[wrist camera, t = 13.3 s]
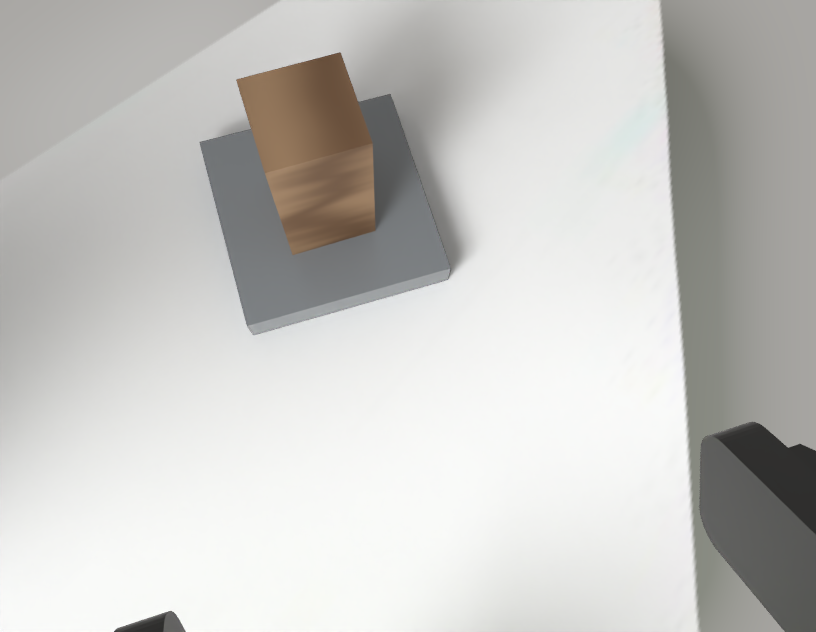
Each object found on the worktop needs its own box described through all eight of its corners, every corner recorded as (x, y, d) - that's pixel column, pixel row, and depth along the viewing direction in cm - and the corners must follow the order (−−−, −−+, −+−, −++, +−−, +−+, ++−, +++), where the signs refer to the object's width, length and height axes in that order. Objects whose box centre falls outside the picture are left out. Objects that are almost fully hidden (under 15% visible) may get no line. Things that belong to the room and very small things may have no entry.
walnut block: (292, 255, 41) (264, 173, 32) (269, 180, 43) (236, 79, 33) (375, 230, 42) (372, 143, 32) (350, 157, 43) (340, 52, 34)
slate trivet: (253, 335, 42) (247, 326, 40) (207, 158, 45) (199, 142, 43) (447, 279, 43) (450, 268, 41) (390, 111, 46) (390, 93, 45)
